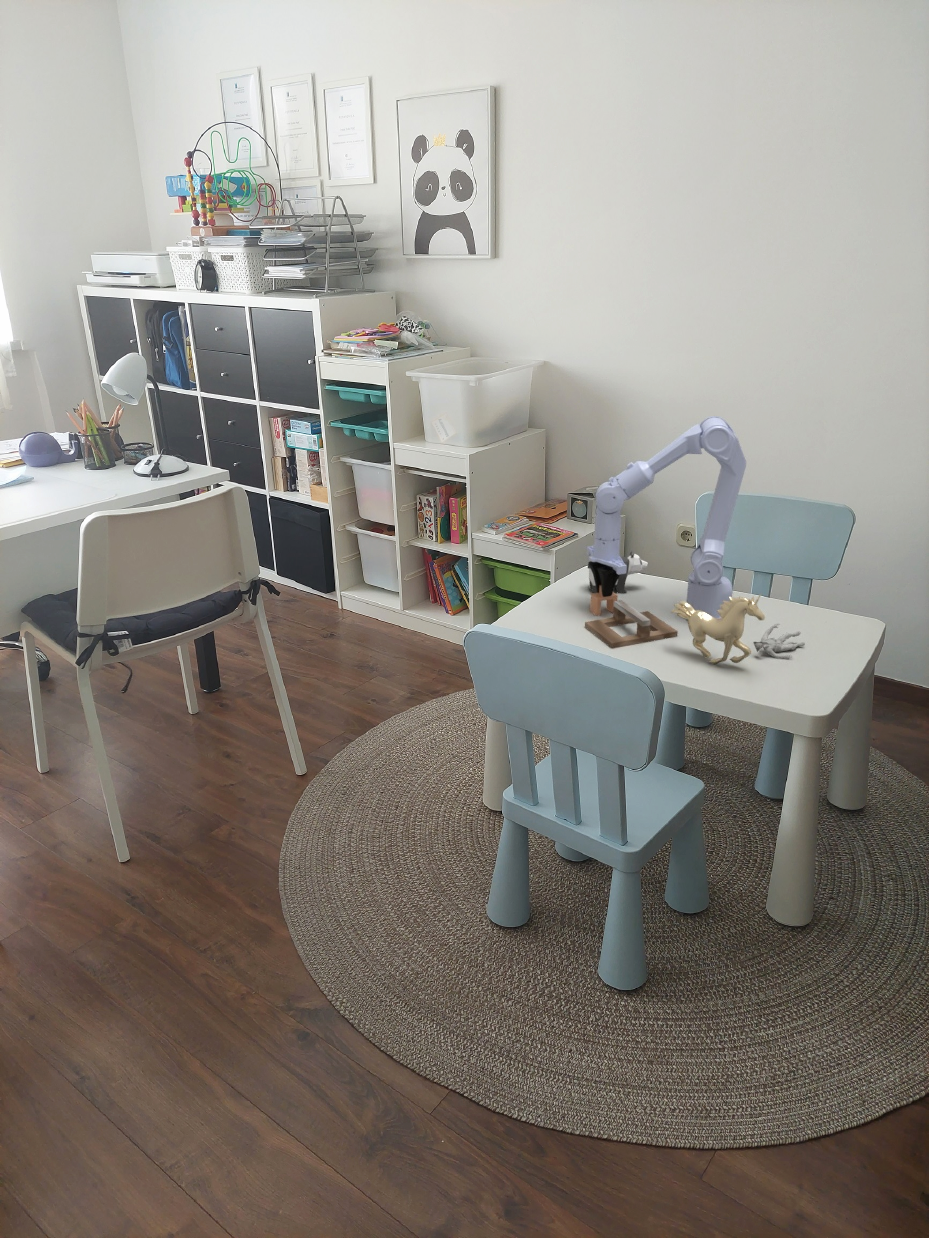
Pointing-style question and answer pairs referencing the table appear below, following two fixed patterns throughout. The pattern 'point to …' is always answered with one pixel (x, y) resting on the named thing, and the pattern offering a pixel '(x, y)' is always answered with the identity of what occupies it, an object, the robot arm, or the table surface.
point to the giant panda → (633, 567)
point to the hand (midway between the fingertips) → (604, 593)
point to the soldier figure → (777, 643)
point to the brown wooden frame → (625, 616)
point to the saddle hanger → (596, 602)
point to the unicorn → (720, 625)
